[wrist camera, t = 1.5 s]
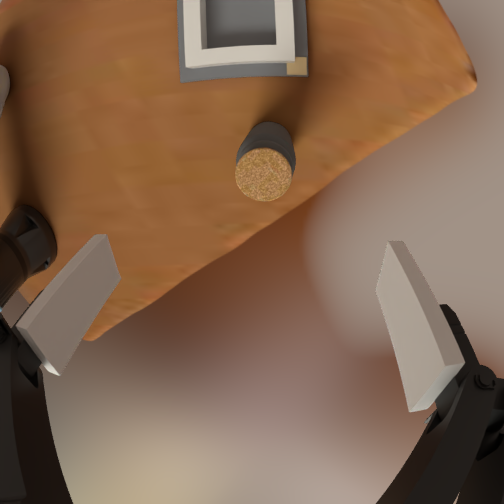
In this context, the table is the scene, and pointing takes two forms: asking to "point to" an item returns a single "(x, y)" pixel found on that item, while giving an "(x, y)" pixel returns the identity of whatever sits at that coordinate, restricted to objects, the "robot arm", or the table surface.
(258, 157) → the bottle
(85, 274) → the robot arm
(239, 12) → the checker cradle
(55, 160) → the table surface
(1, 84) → the teacup
